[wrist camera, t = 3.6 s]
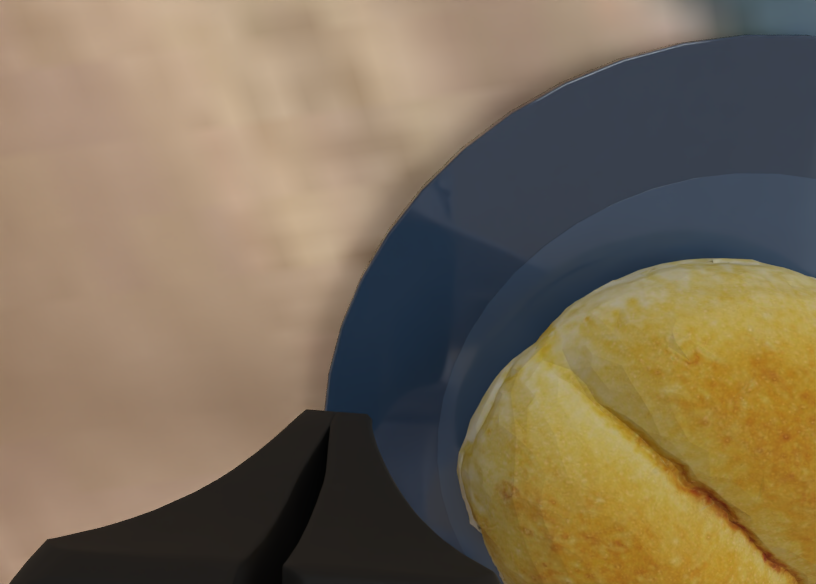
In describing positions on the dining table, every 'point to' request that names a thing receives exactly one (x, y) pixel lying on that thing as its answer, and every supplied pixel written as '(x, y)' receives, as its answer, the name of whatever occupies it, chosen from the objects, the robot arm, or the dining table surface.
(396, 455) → the plate
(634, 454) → the bread roll
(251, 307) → the dining table surface
